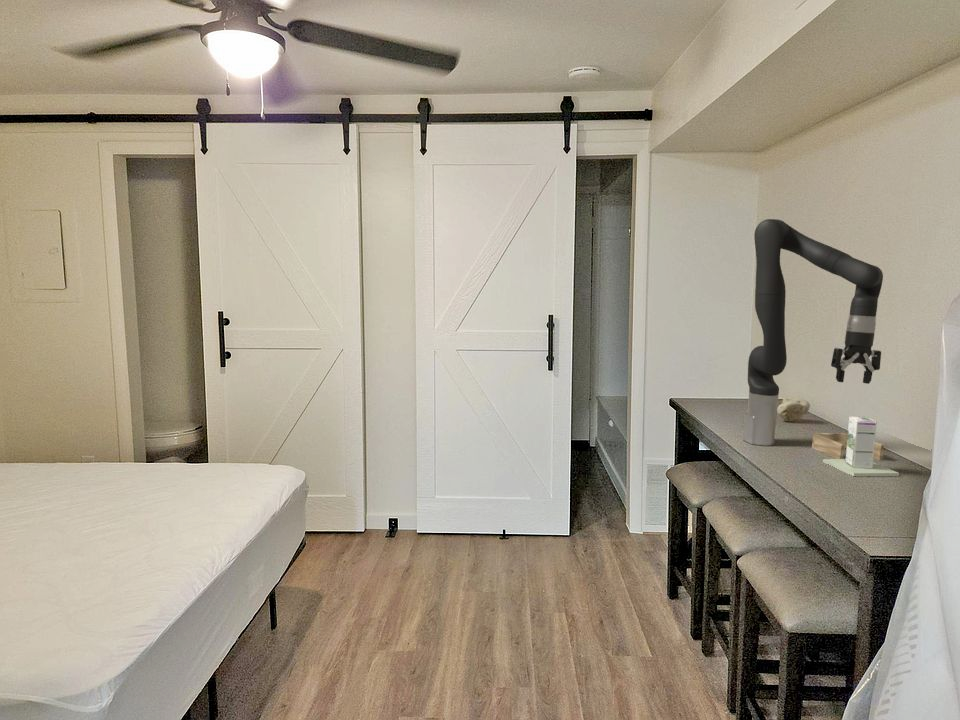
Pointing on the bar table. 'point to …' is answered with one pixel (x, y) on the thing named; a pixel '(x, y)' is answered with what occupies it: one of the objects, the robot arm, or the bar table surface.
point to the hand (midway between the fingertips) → (853, 382)
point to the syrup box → (860, 442)
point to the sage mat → (860, 469)
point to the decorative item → (793, 409)
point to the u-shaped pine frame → (838, 445)
